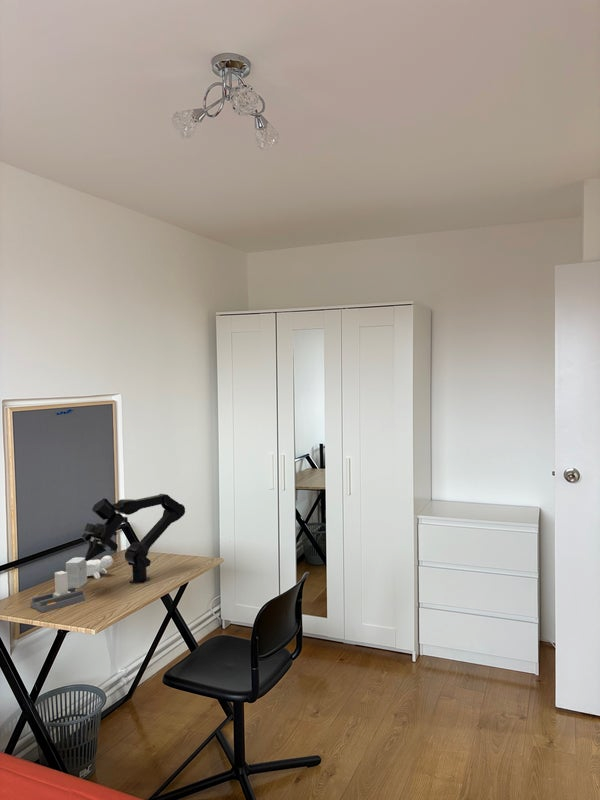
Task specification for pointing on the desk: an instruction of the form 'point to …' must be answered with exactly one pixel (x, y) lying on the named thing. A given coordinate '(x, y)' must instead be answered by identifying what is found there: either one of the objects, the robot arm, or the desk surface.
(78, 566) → the small box
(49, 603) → the switch base
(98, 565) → the white toy figurine
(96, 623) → the desk surface
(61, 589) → the switch tab
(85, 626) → the desk surface
